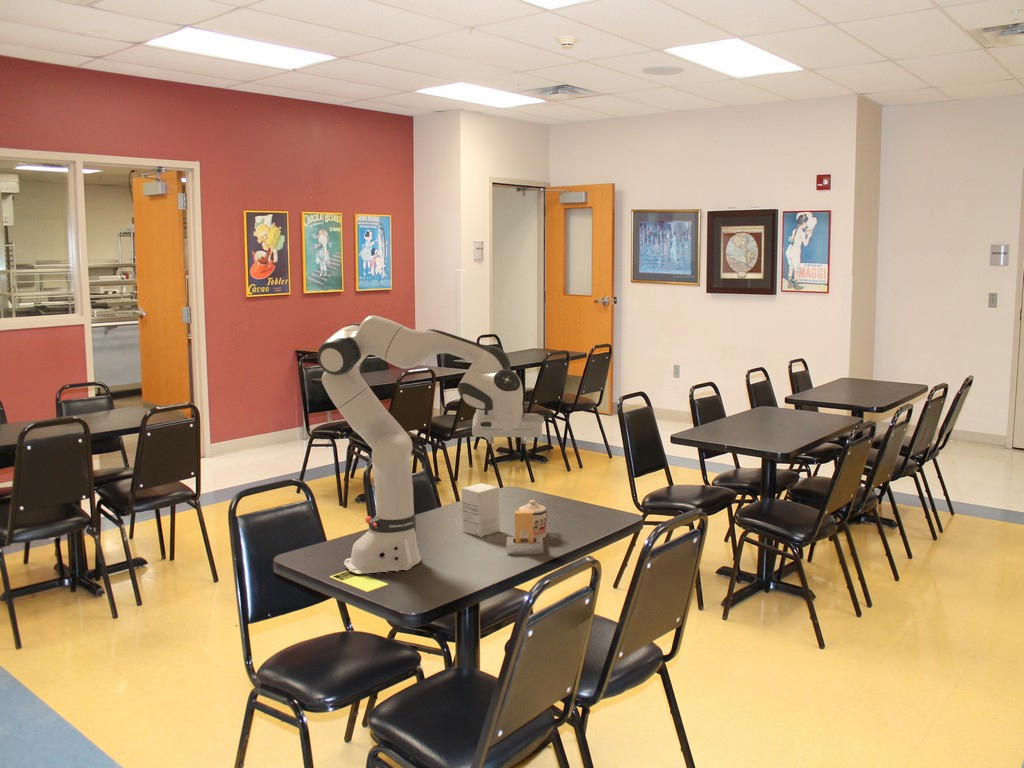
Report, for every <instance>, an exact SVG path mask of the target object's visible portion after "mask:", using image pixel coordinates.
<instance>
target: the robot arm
mask: <svg viewBox="0 0 1024 768" xmlns="http://www.w3.org/2000/svg"><path fill="white" fill-rule="evenodd" d="M440 354H449V355H452V356H455V357H458V358H461V359H463V360H466V361H468V362H469V361H470V362H472V363H471V364H470V366H469V368H468V369H467V371H466V372H465V374H464V375H463V377H462V378H461V380H460V381H459V384H458V385H457V392H458V394H459V397H460V398H461V400H462V401H463V403H464V404H466V406H468V407H470V408H472V409H474V410H475V413H474V415H473V418H472V426H471V427H472V429H471V435H472V436H473V437H475V438H484V439H486V441H488V444H494V443H495V442H494V441H495V438H520V444H527V441H528V440H530V439H531V438H541V436H543V424H544V422H545V417H544V415H541V414H539V413H536V412H535V413H531V412H530V413H524V406H523V401H524V389H523V383H522V380H521V379H520V377H519V375H518V374H517V373H516V372H515V371H513V370H511V367H512V366H511V362H510V359H509V356H508V354H507V353H506V351H504V350H503V349H501V348H499V347H497V346H493V345H489V344H482V343H478V342H475V341H473V340H470V339H467V338H463V337H461V336H457V335H455V334H452V333H448V332H446V331H442V330H438V329H434V328H430V329H427V330H417V329H413V328H409V327H407V326H405V325H403V324H401V323H399V322H396V321H393V320H391V319H389V318H385V317H382V316H380V315H368V316H366V318H364V319H363V320H362V321H361V323H360V322H354V323H350V324H347V325H346V326H344V327H343V328H340V329H339V330H336V331H335V332H334V333H333V334H332V335H331V336H330V337H329V338H328V339H326V340H325V341H324V342H323V343H322V344H321V345H320V347H319V348H318V351H317V363H318V364H319V366H320V367H321V369H322V370H323V371H324V372H322V375H321V382H322V385H323V387H324V389H325V391H326V393H327V395H328V397H329V399H330V400H331V401H332V403H333V404H334V406H335V407H336V409H337V410H338V412H339V413H340V414H341V416H342V417H343V418H344V420H345V421H346V423H348V425H349V426H350V428H351V429H352V431H353V432H355V433H356V434H358V436H359V437H360V438H362V439H363V441H364V442H365V443H366V444H368V446H369V447H370V448H371V462H372V476H373V484H374V497H375V513H376V514H375V515H374V516H373V518H372V517H371V516H369V515H367V516H366V517H364V520H365V522H366V524H368V525H369V529H368V530H367V531H366V532H365V533H364V534H362V536H360V537H359V539H357V540H355V542H354V543H353V545H352V549H351V553H350V554H351V555H350V557H349V558H346V559H345V560H344V561H343V563H344V564H343V566H344V565H345V566H346V567H347V568H348V569H349V570H351V571H354V572H357V573H375V572H386V573H388V572H387V571H396V572H400V571H399V570H405V571H409V569H410V570H412V568H413V567H414V566H415V565H417V564H419V563H421V560H422V558H421V554H420V551H419V547H418V543H417V535H416V532H417V518H416V513H415V508H414V507H415V506H414V504H415V503H414V485H413V475H412V461H411V460H412V451H413V441H412V438H411V436H410V435H409V434H408V433H407V431H406V430H405V429H404V428H403V427H402V425H401V424H400V423H399V422H398V421H397V420H396V418H394V416H393V415H392V414H391V413H390V412H389V411H388V410H387V408H386V407H385V406H384V405H383V403H382V402H381V401H380V400H379V398H378V397H377V395H376V394H375V393H374V392H373V390H372V389H371V387H370V386H369V385H368V383H367V382H366V381H365V379H364V378H363V377H362V374H361V373H360V366H361V365H364V364H365V362H366V361H367V360H368V358H369V357H370V355H371V356H374V357H377V358H379V359H381V360H382V361H385V362H387V363H388V364H390V365H393V366H394V367H397V368H400V369H405V370H406V369H412V368H413V369H414V368H416V367H418V366H420V365H421V364H423V363H424V362H426V361H427V360H429V359H431V358H432V357H434V356H437V355H440Z"/></svg>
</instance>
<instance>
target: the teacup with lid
mask: <svg viewBox="0 0 1024 768" xmlns="http://www.w3.org/2000/svg"><path fill="white" fill-rule="evenodd" d="M528 510H533V536H542V539H544V538H545V537H546V536H547V523H548V520H549V512H548V509H547V507H545V506H544V505H541V504H539V503H537V502H536V500H534V499H530V500H529V502H528V503H526V504H524V505H521V506H520V507H519V508H518V510H517V511H528ZM525 536H528V529H520V537H525Z"/></svg>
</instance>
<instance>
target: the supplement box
mask: <svg viewBox="0 0 1024 768" xmlns="http://www.w3.org/2000/svg"><path fill="white" fill-rule="evenodd" d="M499 491H500V489H499V486H494V485H491V484H486V483H482V482H481V483H477V484H472V485H469V486H465V487H462V488H461V507H462V508H461V510H462V511H461V512H462V533H465V532H467V533H466V534H468V533H470V534H469V535H472V534H474V535H473V536H475V535H477V536H476V537H479V536H480V538H482V537H481V536H483V537H486V536H488V535H492V534H495V533H497V532H500V531H501V521H500V520H501V519H500V518H501V517H500V494H499V493H500V492H499ZM485 535H486V536H485Z"/></svg>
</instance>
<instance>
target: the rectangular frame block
mask: <svg viewBox="0 0 1024 768" xmlns="http://www.w3.org/2000/svg"><path fill="white" fill-rule="evenodd" d="M543 539H544V538H542V536H533V540H534V543H529V538H528V536H525V537H520V543H515V536H506V555H543V554H544V541H543Z"/></svg>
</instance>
